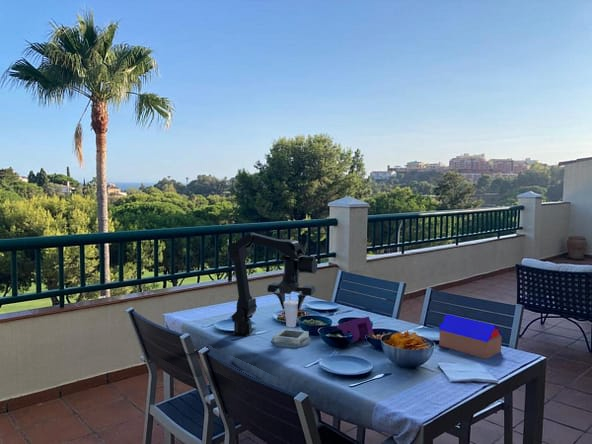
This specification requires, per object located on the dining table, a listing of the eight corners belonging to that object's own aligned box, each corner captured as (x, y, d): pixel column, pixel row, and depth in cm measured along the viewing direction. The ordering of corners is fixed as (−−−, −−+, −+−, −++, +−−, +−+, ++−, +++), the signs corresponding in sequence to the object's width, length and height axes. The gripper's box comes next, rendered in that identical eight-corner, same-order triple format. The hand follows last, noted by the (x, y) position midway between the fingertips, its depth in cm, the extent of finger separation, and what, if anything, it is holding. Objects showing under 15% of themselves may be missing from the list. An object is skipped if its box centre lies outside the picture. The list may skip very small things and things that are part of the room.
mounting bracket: (332, 348, 195) (357, 341, 181) (326, 328, 198) (351, 320, 183) (349, 344, 200) (374, 336, 186) (344, 325, 203) (368, 316, 189)
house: (454, 339, 190) (454, 311, 189) (502, 352, 174) (503, 322, 174) (438, 345, 182) (438, 316, 181) (486, 360, 167) (487, 328, 166)
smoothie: (282, 323, 189) (282, 290, 188) (298, 323, 189) (298, 289, 188) (283, 328, 182) (283, 293, 181) (299, 328, 183) (299, 293, 182)
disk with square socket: (265, 345, 181) (265, 337, 181) (280, 333, 196) (280, 326, 196) (304, 350, 176) (304, 342, 176) (316, 337, 191) (316, 330, 191)
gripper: (261, 273, 180) (261, 312, 181) (307, 276, 173) (306, 317, 175) (272, 269, 190) (272, 306, 191) (315, 271, 184) (315, 310, 185)
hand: (291, 309), depth 185 cm, fingers closed on smoothie, 6 cm apart
